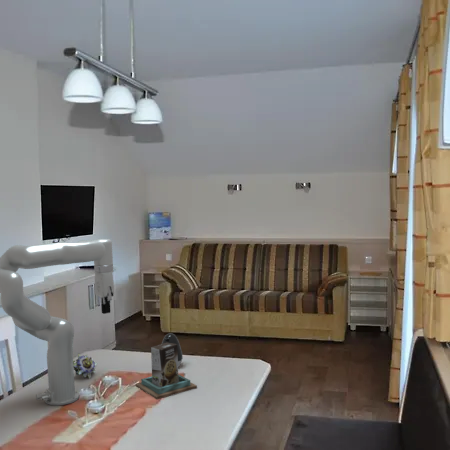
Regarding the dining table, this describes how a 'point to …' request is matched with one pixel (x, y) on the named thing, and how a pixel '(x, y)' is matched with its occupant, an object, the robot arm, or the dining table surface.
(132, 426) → the dining table surface
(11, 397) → the dining table surface
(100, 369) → the dining table surface
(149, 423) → the dining table surface
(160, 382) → the coffee box
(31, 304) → the robot arm
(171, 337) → the dark grey speaker
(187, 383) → the board
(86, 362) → the passion flower
